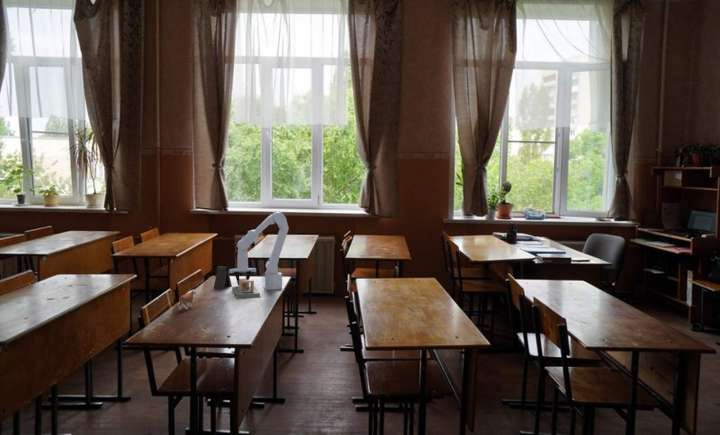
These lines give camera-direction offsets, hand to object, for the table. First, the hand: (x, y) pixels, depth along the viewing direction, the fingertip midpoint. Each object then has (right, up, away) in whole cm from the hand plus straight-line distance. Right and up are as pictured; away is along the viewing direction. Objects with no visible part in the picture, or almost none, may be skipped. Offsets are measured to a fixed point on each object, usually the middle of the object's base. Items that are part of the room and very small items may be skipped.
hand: (242, 284), depth 327 cm
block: (+2, -1, -4) cm, 5 cm away
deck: (+4, -3, -10) cm, 11 cm away
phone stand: (-12, -2, +4) cm, 13 cm away
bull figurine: (-18, -6, -43) cm, 47 cm away
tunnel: (+4, -2, -12) cm, 13 cm away
